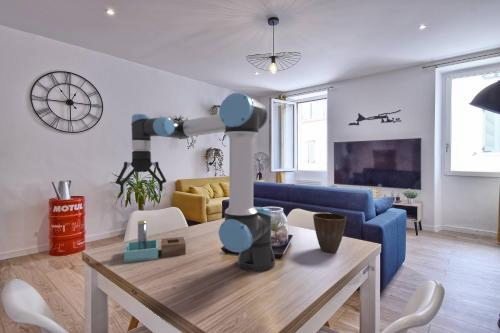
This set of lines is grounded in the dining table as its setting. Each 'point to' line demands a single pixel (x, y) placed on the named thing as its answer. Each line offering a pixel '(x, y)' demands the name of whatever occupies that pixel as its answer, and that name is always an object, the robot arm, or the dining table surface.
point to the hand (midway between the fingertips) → (142, 199)
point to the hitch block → (173, 246)
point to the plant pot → (329, 230)
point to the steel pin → (142, 235)
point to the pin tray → (141, 251)
